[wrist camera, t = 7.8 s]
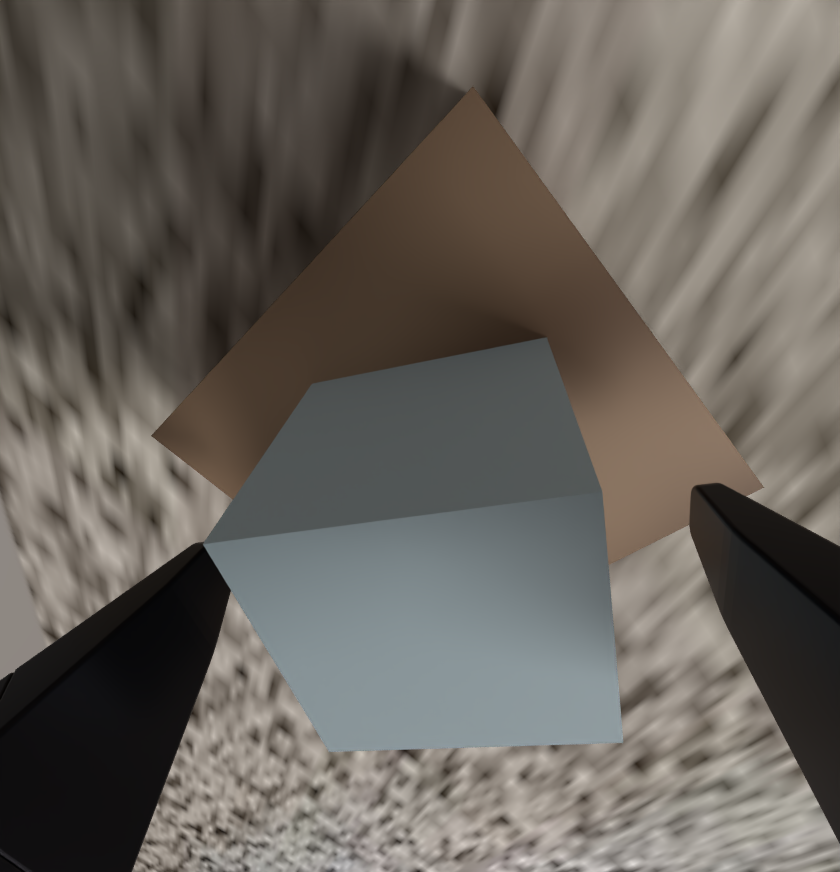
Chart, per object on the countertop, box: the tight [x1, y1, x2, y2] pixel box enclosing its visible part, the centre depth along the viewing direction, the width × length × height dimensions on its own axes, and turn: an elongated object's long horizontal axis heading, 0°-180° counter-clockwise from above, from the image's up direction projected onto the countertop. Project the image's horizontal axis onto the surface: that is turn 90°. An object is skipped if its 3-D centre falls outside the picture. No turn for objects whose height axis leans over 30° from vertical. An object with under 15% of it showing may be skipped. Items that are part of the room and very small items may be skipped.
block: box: [203, 337, 623, 752], centre depth 9 cm, size 5×5×5 cm
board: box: [151, 87, 764, 565], centre depth 12 cm, size 10×10×2 cm
